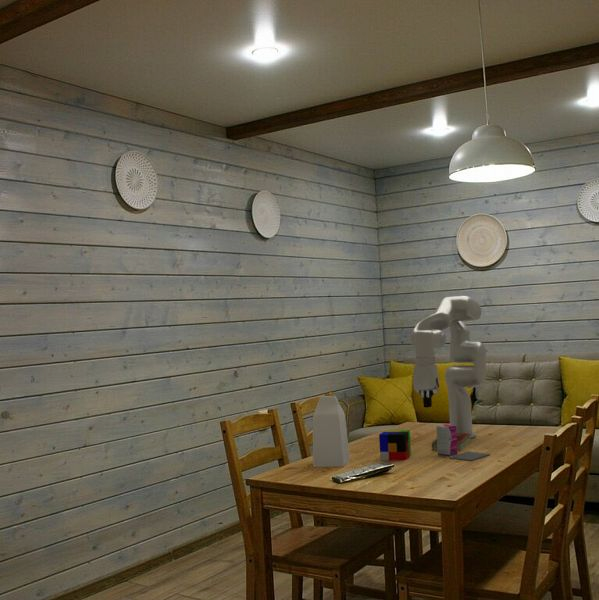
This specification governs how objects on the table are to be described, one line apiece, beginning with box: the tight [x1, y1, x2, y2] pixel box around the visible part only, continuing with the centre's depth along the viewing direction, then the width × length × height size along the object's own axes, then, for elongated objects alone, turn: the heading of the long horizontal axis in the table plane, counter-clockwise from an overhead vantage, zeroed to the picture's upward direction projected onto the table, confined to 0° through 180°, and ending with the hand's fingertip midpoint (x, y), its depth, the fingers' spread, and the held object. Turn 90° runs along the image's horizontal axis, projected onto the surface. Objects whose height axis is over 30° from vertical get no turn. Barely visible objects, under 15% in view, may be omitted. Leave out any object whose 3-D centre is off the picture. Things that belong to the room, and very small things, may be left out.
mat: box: [448, 451, 491, 462], centre depth 284 cm, size 10×13×1 cm
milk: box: [312, 395, 351, 468], centre depth 287 cm, size 12×12×26 cm
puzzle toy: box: [378, 429, 412, 461], centre depth 291 cm, size 10×10×10 cm
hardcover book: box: [431, 433, 471, 452], centre depth 309 cm, size 12×21×4 cm, turn 156°
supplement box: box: [436, 423, 458, 457], centre depth 292 cm, size 6×6×12 cm
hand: (427, 407), depth 297 cm, fingers closed
